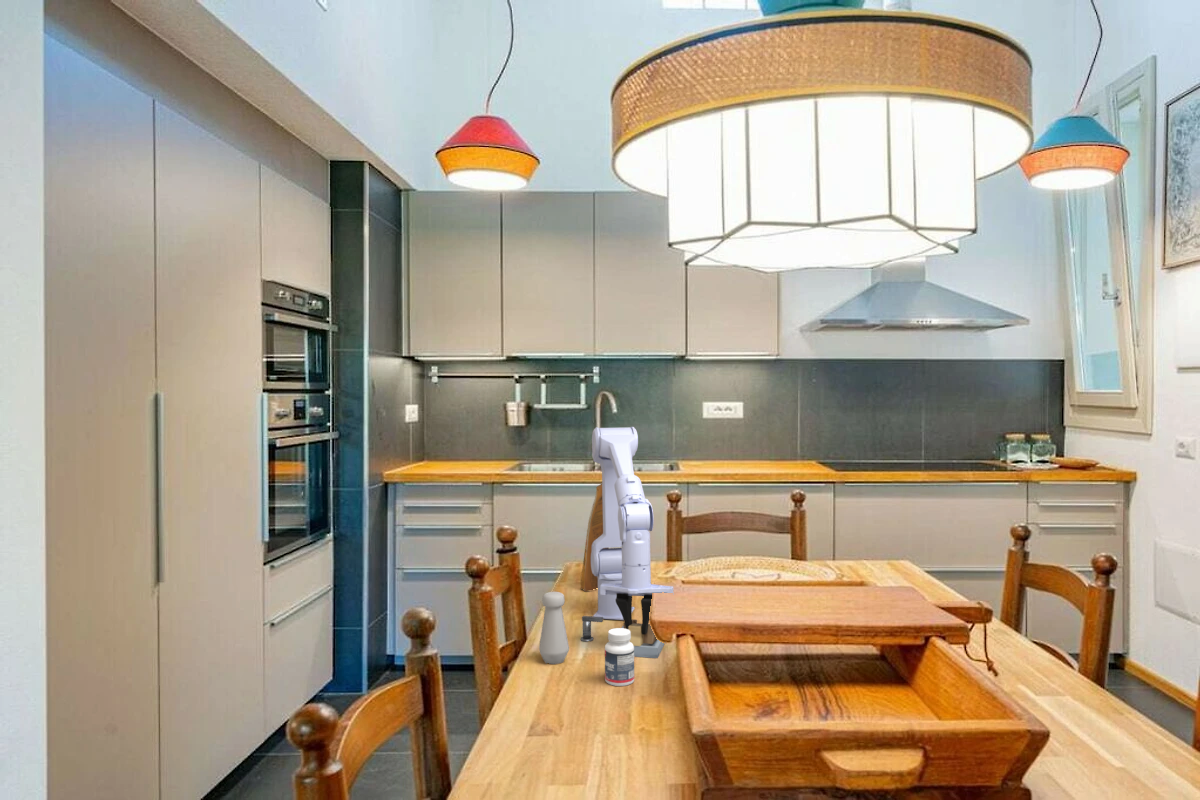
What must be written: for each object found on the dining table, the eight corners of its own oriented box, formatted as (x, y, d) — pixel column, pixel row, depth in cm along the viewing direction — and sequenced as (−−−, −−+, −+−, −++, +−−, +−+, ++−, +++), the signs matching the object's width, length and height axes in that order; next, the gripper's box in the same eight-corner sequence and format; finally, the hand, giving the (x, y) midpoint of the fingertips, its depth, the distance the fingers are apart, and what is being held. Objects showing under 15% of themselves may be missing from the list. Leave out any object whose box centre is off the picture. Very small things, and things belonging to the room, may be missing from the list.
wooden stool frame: (629, 637, 150) (629, 619, 151) (657, 639, 149) (657, 621, 149) (619, 644, 141) (619, 625, 142) (649, 646, 140) (649, 627, 140)
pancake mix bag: (619, 577, 204) (618, 478, 204) (599, 594, 186) (598, 486, 186) (596, 575, 206) (595, 477, 206) (574, 592, 188) (573, 485, 188)
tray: (624, 633, 154) (624, 624, 154) (668, 636, 152) (667, 627, 152) (610, 654, 142) (609, 644, 142) (657, 658, 140) (657, 648, 139)
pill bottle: (600, 677, 130) (600, 628, 130) (627, 673, 132) (627, 625, 132) (611, 688, 125) (610, 637, 125) (639, 684, 127) (638, 633, 127)
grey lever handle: (582, 637, 152) (582, 614, 152) (604, 638, 151) (604, 615, 151) (579, 641, 150) (579, 618, 150) (601, 642, 149) (600, 619, 149)
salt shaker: (571, 655, 141) (570, 589, 141) (567, 666, 136) (566, 597, 136) (541, 654, 142) (541, 588, 142) (536, 665, 136) (535, 596, 136)
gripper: (595, 566, 142) (596, 636, 141) (669, 568, 138) (670, 640, 137) (604, 559, 148) (605, 626, 148) (674, 562, 145) (675, 630, 144)
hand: (637, 632), depth 143 cm, fingers closed on wooden stool frame, 2 cm apart
